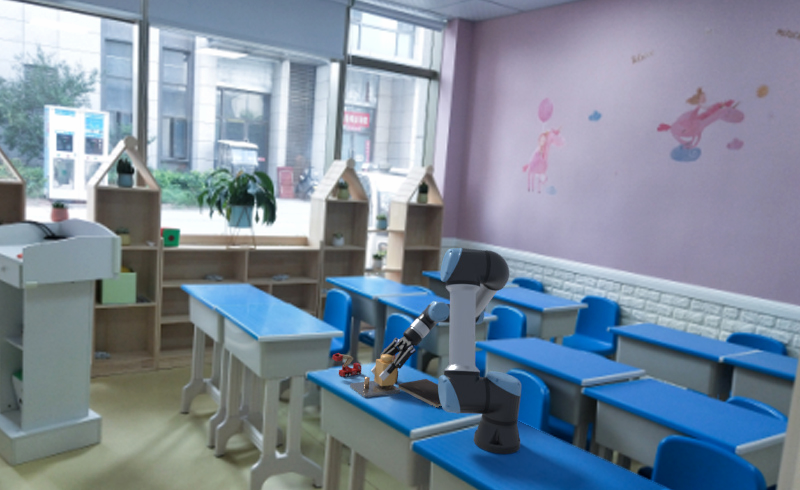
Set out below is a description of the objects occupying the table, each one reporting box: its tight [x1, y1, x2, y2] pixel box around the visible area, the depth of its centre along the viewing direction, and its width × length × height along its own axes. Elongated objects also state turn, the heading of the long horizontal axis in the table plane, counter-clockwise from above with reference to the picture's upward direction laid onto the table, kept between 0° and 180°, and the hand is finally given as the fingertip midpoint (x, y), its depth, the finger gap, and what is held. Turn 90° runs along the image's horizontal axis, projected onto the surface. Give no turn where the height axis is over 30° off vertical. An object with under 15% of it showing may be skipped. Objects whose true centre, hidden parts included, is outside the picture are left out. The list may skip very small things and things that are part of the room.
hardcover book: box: [397, 378, 441, 408], centre depth 242 cm, size 16×23×2 cm
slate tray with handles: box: [349, 376, 401, 398], centre depth 240 cm, size 12×16×6 cm
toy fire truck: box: [331, 352, 363, 378], centre depth 255 cm, size 3×14×10 cm, turn 130°
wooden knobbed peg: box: [373, 354, 396, 386], centre depth 242 cm, size 6×6×11 cm
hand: (377, 375), depth 240 cm, fingers closed on wooden knobbed peg, 6 cm apart
